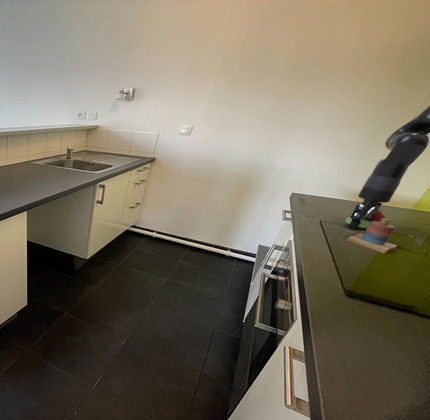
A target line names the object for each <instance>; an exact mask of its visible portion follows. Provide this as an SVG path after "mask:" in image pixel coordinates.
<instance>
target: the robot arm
mask: <svg viewBox="0 0 430 420" xmlns="http://www.w3.org/2000/svg"><path fill="white" fill-rule="evenodd" d="M429 134H430V104H429V105H428V106H427V107H425V108H424V109H423V110H422V111H421V112H420V113H419V114H418V115H417V116H415V117H414V118H413V119H412V120H409V121H408V122H407V123H405V124H403V125H402V126H401V127H399V128H398V129H396V130H395V131H394V132H392V134H390V135H389V136H388V137H387V139H386V140H385V143H384V146H385V148H386V149H387V150H388V151H389V153H388V155H387V156H386V157H385V158H382V159H380V160H379V161H378V162H377V163H376V164H375V167H374V168H373V170H372V172H371V174H370V175H369V176H368V178H367V179H366V181H365V183H364V184H363V186H362V187H361V190H360V191H359V193H358V195H357V196H358V198H360V199H363V200H362V202H360V203H357V204H356V206H355V208H354V209H353V211H352V213H351V216H350V218H352V221H351V222H350V224H348V226H347V228H348V229H351V230H354V231H355V230H357V229H358V228H359V227H358V226H359V224H360V223H361V221H362V220H366V221H369V219H371V218H372V217H374V216H375V214H376V212H377V211H378V210H380V207H381V206H382V205H383V204H384V203H385V204H387V203H389V202H390V201H391V199H392V197H393V195H394V194H395V193H396V191H397V189H398V187H399V186H400V184H401V181H402V179H403V178H404V175H405V174H406V173H407V171H408V169H409V167H410V166H411V165H412V164H413V163H415V161H417V159H418V158H419V157H420V156H421V155H422V154H423V153H424V152H425V151H426V149H427V147H428V145H429V143H430V138H429V136H428V135H429Z"/></svg>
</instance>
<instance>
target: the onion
mask: <svg viewBox="0 0 430 420" xmlns="http://www.w3.org/2000/svg"><path fill="white" fill-rule="evenodd" d="M382 212H383V211H382V210H380V209H378V211H377V212H376V214H375V216H374V217H372V218H371V219H369V222H371V221H376V222H380V221H381V219H382V218H386V217H385V215H384V214H383V213H382Z"/></svg>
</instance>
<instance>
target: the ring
mask: <svg viewBox="0 0 430 420" xmlns="http://www.w3.org/2000/svg"><path fill="white" fill-rule="evenodd" d="M350 217H351V216H350ZM350 217H346V219H345V220H344V221H345V223H346V224H348V225H349V224H350V222H351V221H352V218H350ZM370 223H371V222H369V221H366V220H362V221H361V223H360V224H359V226H358V228H362V229H363V228H364V229H367V228H368V226H369V224H370Z"/></svg>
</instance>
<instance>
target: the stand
mask: <svg viewBox="0 0 430 420" xmlns="http://www.w3.org/2000/svg"><path fill="white" fill-rule="evenodd" d="M390 222H391V219H389V218H386V217H385V218H382V219H381V221H380V222H376V221H371V223H370V224H369V226H368V228H365V229H366V230H365V231H364V233H358V234H354V235H350V236H348V237H347V238H346V242H349V243H351V244H354V245H358V246H361V247H362V248H363V247H364V248H366V249H369V250H371V251H372V250H373V251H375V252H378V253H381V254H383V255H385V254H387V253H390V252H392V251H394V250H396V249H397V248H398V245H397V244H395V243H391V242H387V241H388V240H389V238H390V237H391V235H392V233H393V232H394V230H395V229H396V226H394V225H392V224H389V223H390Z"/></svg>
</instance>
